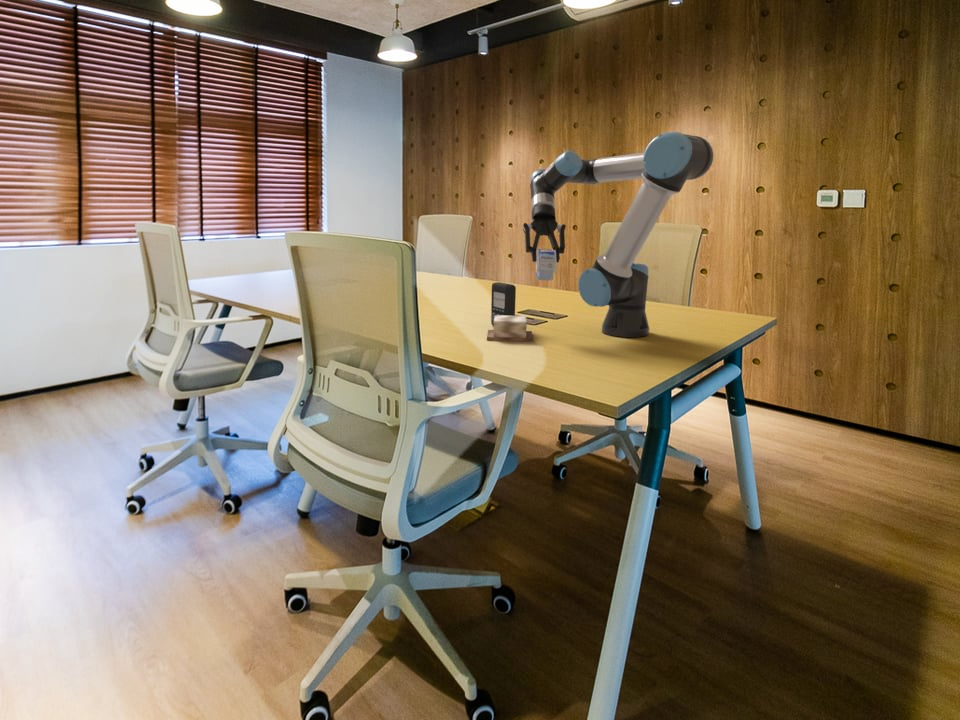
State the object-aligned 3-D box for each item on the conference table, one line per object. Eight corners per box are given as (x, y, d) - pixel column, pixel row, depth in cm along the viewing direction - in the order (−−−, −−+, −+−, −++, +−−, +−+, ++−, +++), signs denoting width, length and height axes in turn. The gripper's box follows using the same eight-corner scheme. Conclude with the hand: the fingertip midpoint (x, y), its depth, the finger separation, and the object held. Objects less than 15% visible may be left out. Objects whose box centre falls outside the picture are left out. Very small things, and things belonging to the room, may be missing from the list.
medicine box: (535, 276, 191) (537, 248, 188) (549, 276, 191) (551, 249, 188) (538, 280, 183) (540, 251, 181) (553, 280, 183) (555, 251, 181)
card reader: (489, 326, 207) (490, 282, 203) (498, 324, 210) (499, 281, 206) (506, 330, 200) (507, 285, 196) (515, 329, 202) (516, 284, 199)
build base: (531, 334, 196) (532, 315, 194) (532, 341, 185) (533, 322, 184) (488, 332, 196) (488, 314, 195) (486, 340, 186) (487, 321, 184)
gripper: (568, 220, 197) (573, 277, 186) (515, 218, 197) (516, 276, 185) (572, 203, 190) (577, 262, 179) (516, 202, 190) (518, 260, 179)
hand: (546, 269), depth 182 cm, fingers closed on medicine box, 4 cm apart
